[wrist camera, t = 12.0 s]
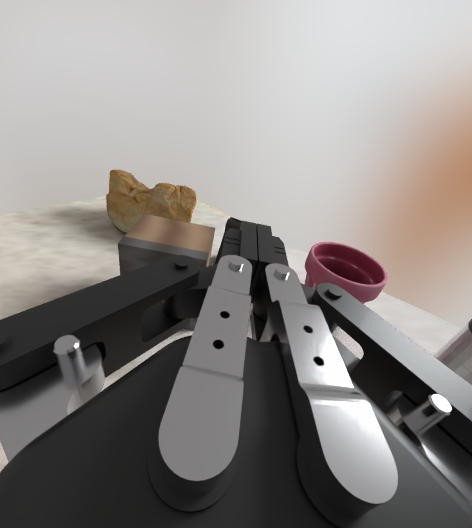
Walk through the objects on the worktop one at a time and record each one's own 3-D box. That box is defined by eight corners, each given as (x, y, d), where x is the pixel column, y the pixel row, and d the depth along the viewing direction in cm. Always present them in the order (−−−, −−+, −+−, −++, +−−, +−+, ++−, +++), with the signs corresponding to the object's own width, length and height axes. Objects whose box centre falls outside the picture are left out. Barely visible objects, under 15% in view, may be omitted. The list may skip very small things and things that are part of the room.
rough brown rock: (213, 238, 71) (222, 184, 64) (178, 259, 57) (185, 194, 50) (146, 212, 77) (148, 161, 70) (100, 226, 63) (97, 164, 56)
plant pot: (279, 288, 57) (298, 238, 50) (331, 287, 61) (355, 241, 54) (309, 340, 46) (338, 286, 39) (369, 334, 50) (406, 285, 43)
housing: (204, 291, 51) (215, 227, 43) (195, 330, 43) (206, 260, 35) (144, 280, 50) (143, 213, 42) (123, 318, 42) (118, 243, 34)
